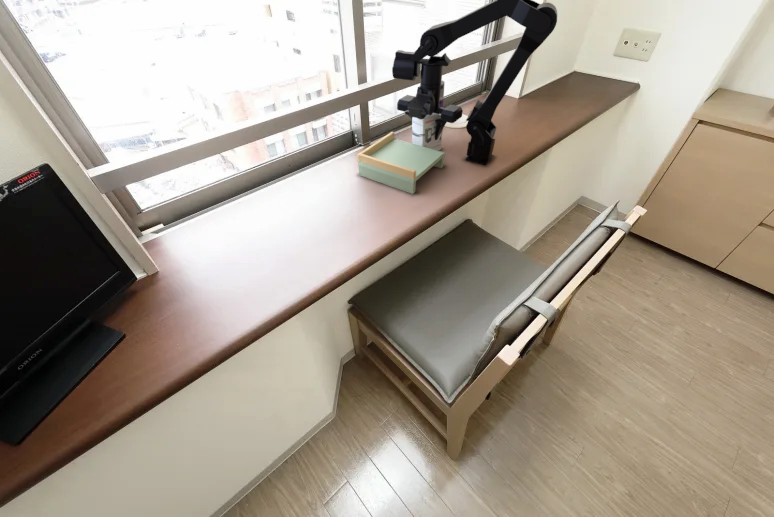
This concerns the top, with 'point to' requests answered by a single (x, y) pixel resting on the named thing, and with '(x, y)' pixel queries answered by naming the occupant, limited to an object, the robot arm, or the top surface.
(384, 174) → the shelf
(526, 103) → the top surface
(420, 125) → the ink box
